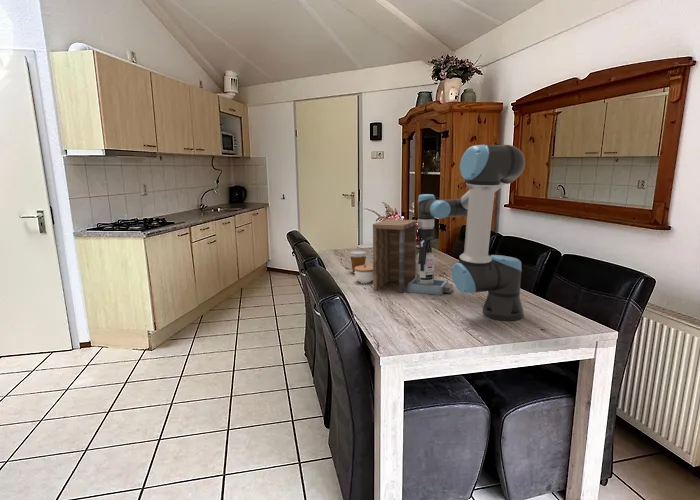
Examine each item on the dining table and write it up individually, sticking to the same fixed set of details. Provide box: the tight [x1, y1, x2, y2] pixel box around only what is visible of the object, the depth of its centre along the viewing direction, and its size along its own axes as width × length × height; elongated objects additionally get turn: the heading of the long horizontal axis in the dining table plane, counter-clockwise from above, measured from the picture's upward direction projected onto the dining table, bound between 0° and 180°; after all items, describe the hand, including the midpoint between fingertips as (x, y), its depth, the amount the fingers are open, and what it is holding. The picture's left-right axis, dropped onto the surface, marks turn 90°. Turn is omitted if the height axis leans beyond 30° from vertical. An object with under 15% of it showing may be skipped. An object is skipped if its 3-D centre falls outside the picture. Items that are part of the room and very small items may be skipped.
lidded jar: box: [354, 263, 373, 284], centre depth 210 cm, size 11×11×9 cm
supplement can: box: [416, 251, 435, 286], centre depth 194 cm, size 8×8×15 cm
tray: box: [407, 278, 454, 296], centre depth 194 cm, size 13×19×4 cm
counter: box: [372, 218, 418, 294], centre depth 199 cm, size 20×15×32 cm
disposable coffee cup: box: [349, 250, 368, 273], centre depth 229 cm, size 10×10×12 cm
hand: (425, 275), depth 194 cm, fingers closed on supplement can, 8 cm apart
